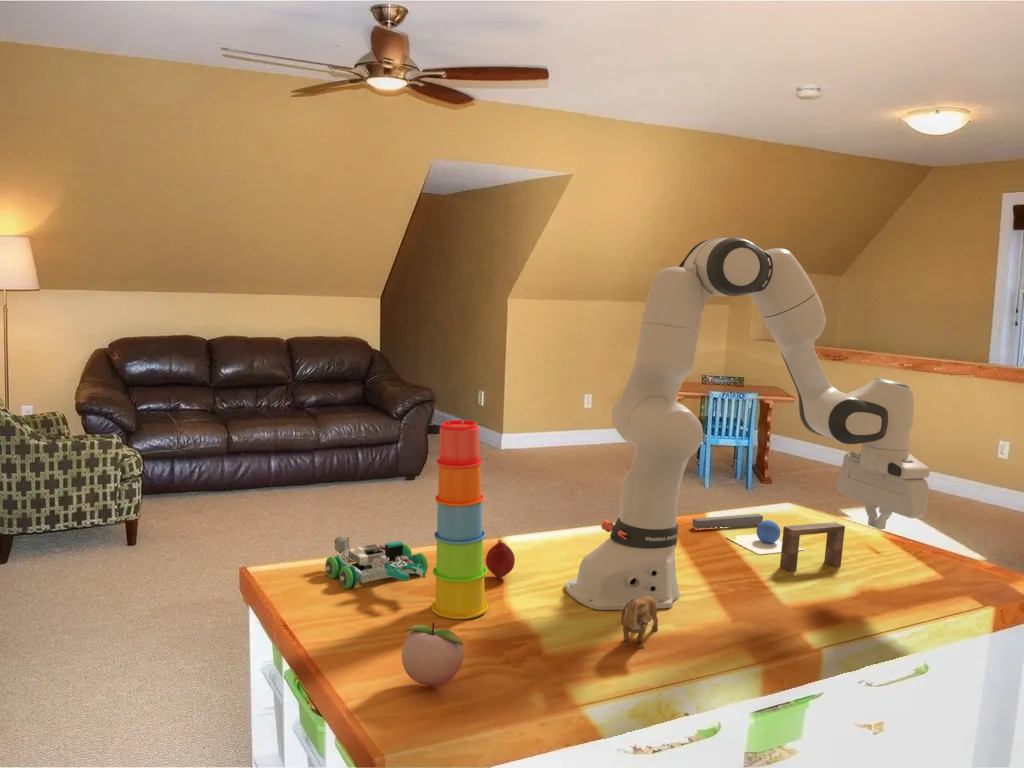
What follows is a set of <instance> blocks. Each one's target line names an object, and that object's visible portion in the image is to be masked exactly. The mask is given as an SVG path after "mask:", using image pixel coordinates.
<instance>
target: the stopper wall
mask: <svg viewBox="0 0 1024 768" xmlns="http://www.w3.org/2000/svg"><path fill="white" fill-rule="evenodd" d="M763 521H764V515H762V514H759V513H750V514H738V515H724V516H714V517H713V516H712V517H711V516H710V517H709V516H708V517H698V518H692V526H693V527H695V528H697V529H699V528H711V527H712V528H715V527H717V528H720V527H723V528H724V527H736V528H742V527H741V526H748V527H754V526H753V525H759V524H760V523H761V522H763ZM692 526H691V527H692ZM724 529H725V528H724Z"/></svg>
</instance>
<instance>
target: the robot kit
mask: <svg viewBox="0 0 1024 768" xmlns="http://www.w3.org/2000/svg"><path fill="white" fill-rule="evenodd" d="M334 550H335V551H336V552H337V553H339V554H340V555H339V554H336V555H335V556H329V557H327V558H326V560H325V566H324V567H325V568H324V569H325V572H326V575H327V576H328V577H329V578H330V579H333V580H334V579H336V578H339V582H340V585H341V587H342V588H344V589H347V590H349V589H351V588H355V587H356V586H357V585H358V581H359V582H360V583H363V584H364V583H367V582H371V581H377V580H381V579H387V578H395V579H396V580H401V581H403V582H404V581H405V582H409V581H410V574H415V575H416V576H418V575H419V576H420V578H422V579H425V578H426V573H427V571H428V568H429V562H428V559H427V556H426V554H424V553H423V552H418V553H416V554H413V553H412V549H411V547H410V546H409V545H408V544H405V543H403V542H401V541H399V540H397V541H392V542H386V543H381V544H379V545H378V546H377V544H374V543H373V544H369V545H362V546H356V548H351V542H350V537H344V536H343V535H340V536H337V537H336V538H335V539H334ZM341 554H342V555H341ZM368 566H371V568H368Z"/></svg>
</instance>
